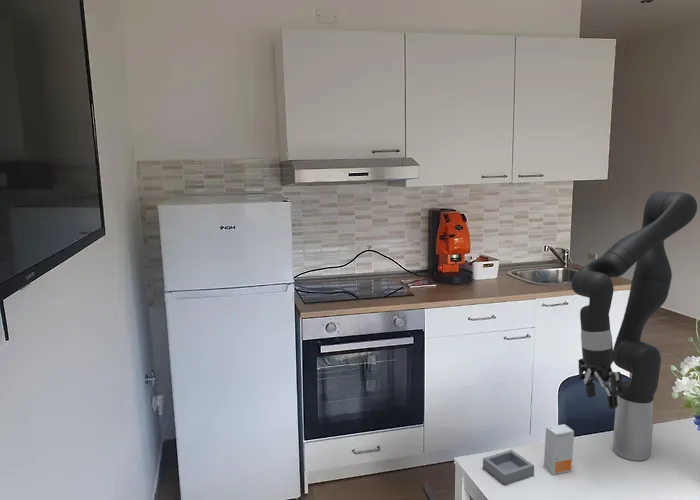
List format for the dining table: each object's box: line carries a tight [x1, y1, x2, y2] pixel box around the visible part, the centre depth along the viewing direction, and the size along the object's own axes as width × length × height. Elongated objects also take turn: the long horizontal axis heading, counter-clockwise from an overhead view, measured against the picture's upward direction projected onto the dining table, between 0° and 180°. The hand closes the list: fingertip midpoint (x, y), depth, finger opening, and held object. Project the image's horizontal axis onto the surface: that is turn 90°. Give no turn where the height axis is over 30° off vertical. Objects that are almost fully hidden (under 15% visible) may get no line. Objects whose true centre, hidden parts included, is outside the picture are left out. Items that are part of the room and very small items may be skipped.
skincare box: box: [543, 423, 575, 475], centre depth 143 cm, size 6×4×12 cm
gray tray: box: [482, 449, 535, 486], centre depth 143 cm, size 10×9×3 cm
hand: (601, 402), depth 142 cm, fingers open, 8 cm apart
